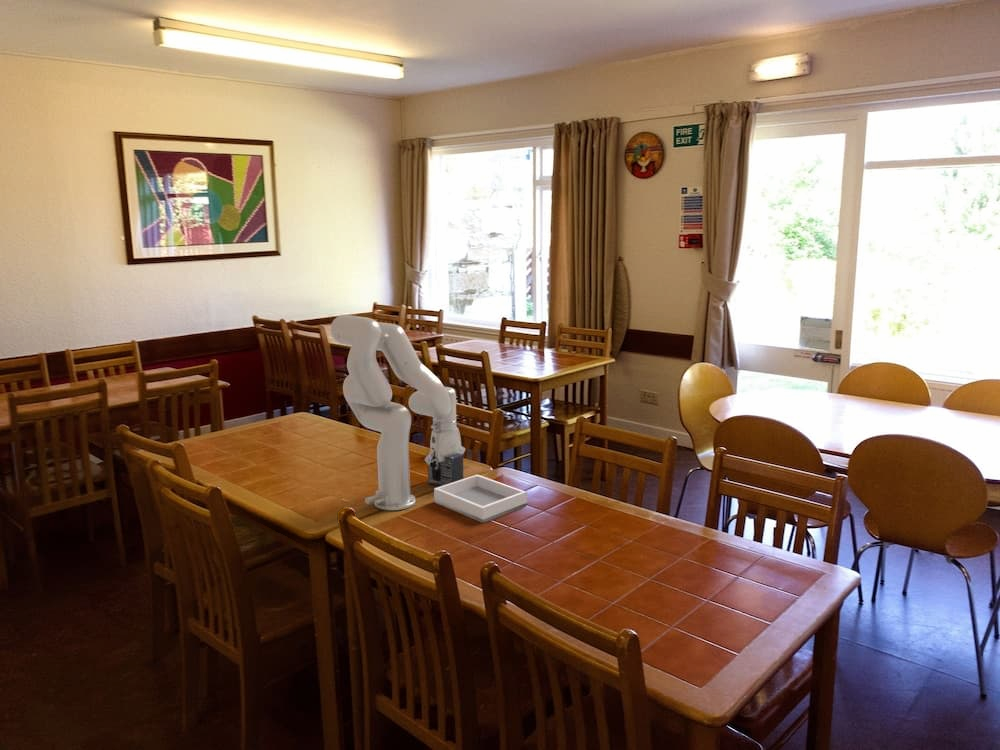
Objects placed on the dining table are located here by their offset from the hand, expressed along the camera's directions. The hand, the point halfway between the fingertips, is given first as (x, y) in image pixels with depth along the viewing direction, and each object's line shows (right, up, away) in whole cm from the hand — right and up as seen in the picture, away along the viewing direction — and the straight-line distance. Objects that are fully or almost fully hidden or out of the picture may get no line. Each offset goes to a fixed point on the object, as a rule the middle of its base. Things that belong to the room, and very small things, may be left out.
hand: (446, 476), depth 235 cm
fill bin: (+12, -6, -17) cm, 22 cm away
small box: (0, -3, +1) cm, 3 cm away
